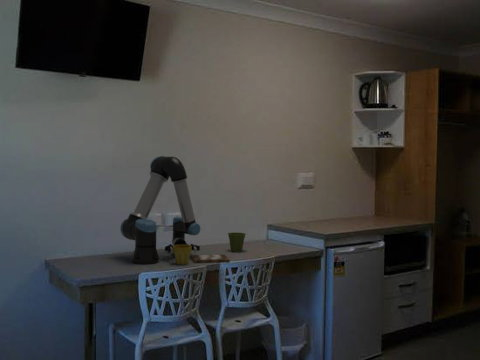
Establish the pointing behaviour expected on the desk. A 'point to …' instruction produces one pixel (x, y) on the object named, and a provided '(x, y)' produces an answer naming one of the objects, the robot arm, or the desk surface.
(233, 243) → the plant pot
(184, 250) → the plant pot
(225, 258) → the base plate
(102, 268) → the desk surface
